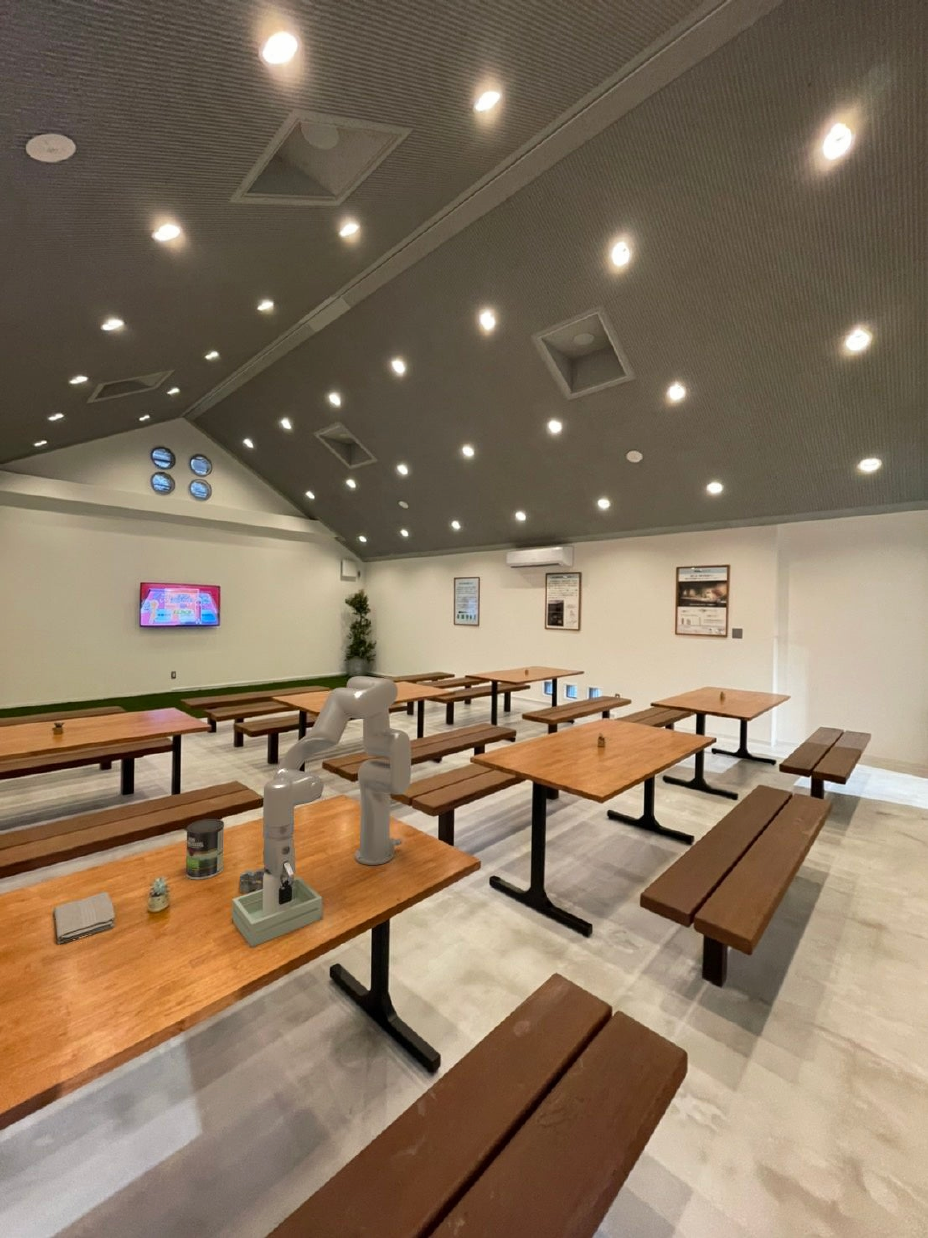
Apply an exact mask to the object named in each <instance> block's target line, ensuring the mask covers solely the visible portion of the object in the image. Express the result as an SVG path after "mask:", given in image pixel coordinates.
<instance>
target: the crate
mask: <svg viewBox="0 0 928 1238" xmlns="http://www.w3.org/2000/svg"><path fill="white" fill-rule="evenodd" d="M293 881H294V882H293V886H292V900H291V901H290V902H289V908H288V909H285V910H282V911H280V912H277V913H274V914H272V915H269V916H266V917H264V918H263V889H261V890H258V891H256V890H254V891H251V892H249V893H245V894H243V895H241V896H237V897H235V898H232V900H231V921H232V923H233V924H234V925H235V927H236V928H237V929H238V931H239V932H240V933H241V935H242V937H243V938H244V940H246V942H247V943H248V944H249V946H250V947H251V948H253V947H255V946H259V945H260V944H264V943H265V942H268V941H270V940H273V939H276V938H278V937H281V936H283V935H285V934H288V933H291V932H293V931H295V930H298V929H301V928H302V927H306V926H308V925H310V924H312V923H313V924H314V923H315V922H319V921H320V920H322V919H323V897H322V896H321V895H320V894H319V893H318V892H317V891H315V890H314V889H313V888H312V887H311V886H310V885H309V884H308V883H307V882H305V881H304V880H303V878H301V877H300V876H298V877H294V879H293Z"/></svg>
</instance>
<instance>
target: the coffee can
mask: <svg viewBox="0 0 928 1238" xmlns="http://www.w3.org/2000/svg"><path fill="white" fill-rule="evenodd" d="M224 826H225V822H224V821H223V820H222V819H218V818H207V819H200V820H197V821H194V822H192V823H190V824H189V825H187V826H186V829H185V830H186V858H185V859H186V862H185V863H186V864H185V865H186V867H185V876H186V878H187V879H190V880H198V881H199V880H205V879H206V880H207V879H210V878H213V877H215V876H217V875H219V874H220V873H221V872H222V871H223V870H224V866H223V864H224V863H223V862H224V830H225V828H224Z"/></svg>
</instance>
